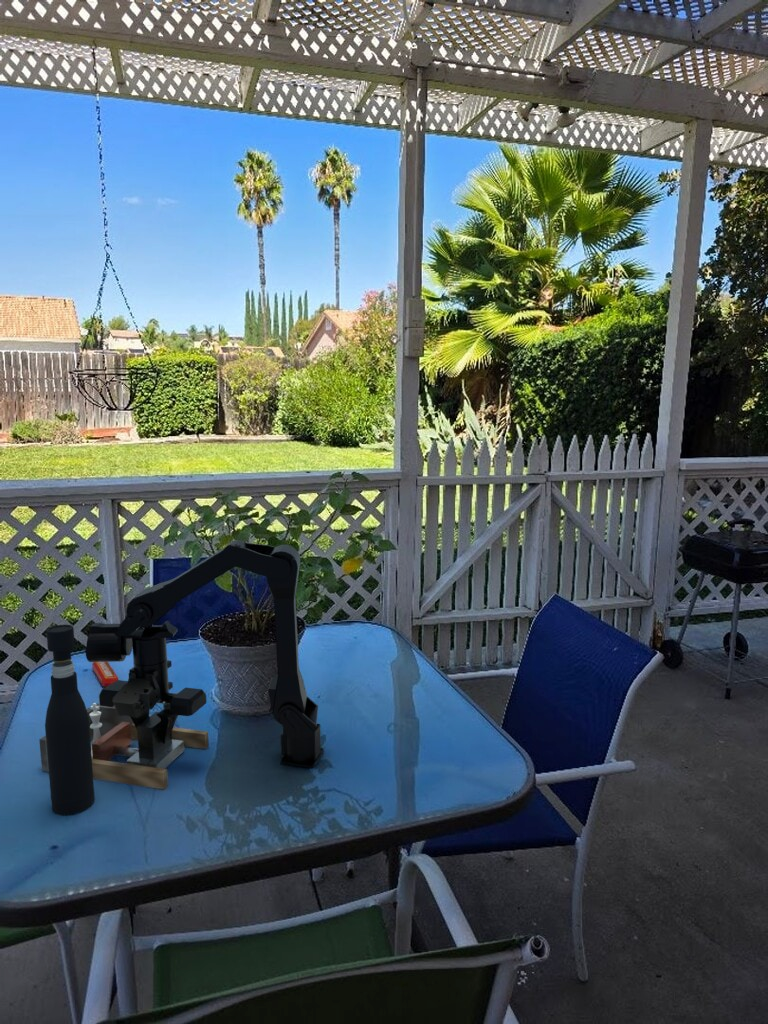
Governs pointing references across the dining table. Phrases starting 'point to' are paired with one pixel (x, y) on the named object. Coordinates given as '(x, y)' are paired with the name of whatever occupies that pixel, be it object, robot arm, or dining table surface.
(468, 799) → the dining table surface
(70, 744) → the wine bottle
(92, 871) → the dining table surface
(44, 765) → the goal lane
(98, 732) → the chess piece
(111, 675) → the candy bar
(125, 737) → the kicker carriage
